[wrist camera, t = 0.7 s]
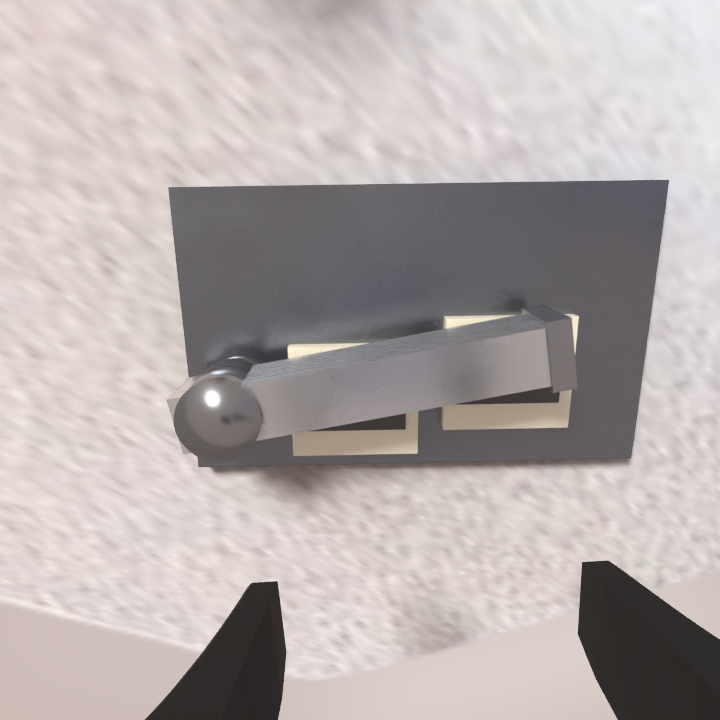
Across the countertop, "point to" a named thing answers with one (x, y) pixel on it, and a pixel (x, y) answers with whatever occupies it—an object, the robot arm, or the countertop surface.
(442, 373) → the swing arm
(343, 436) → the label plate
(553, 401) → the label plate
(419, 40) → the countertop surface
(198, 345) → the dark gray base board
